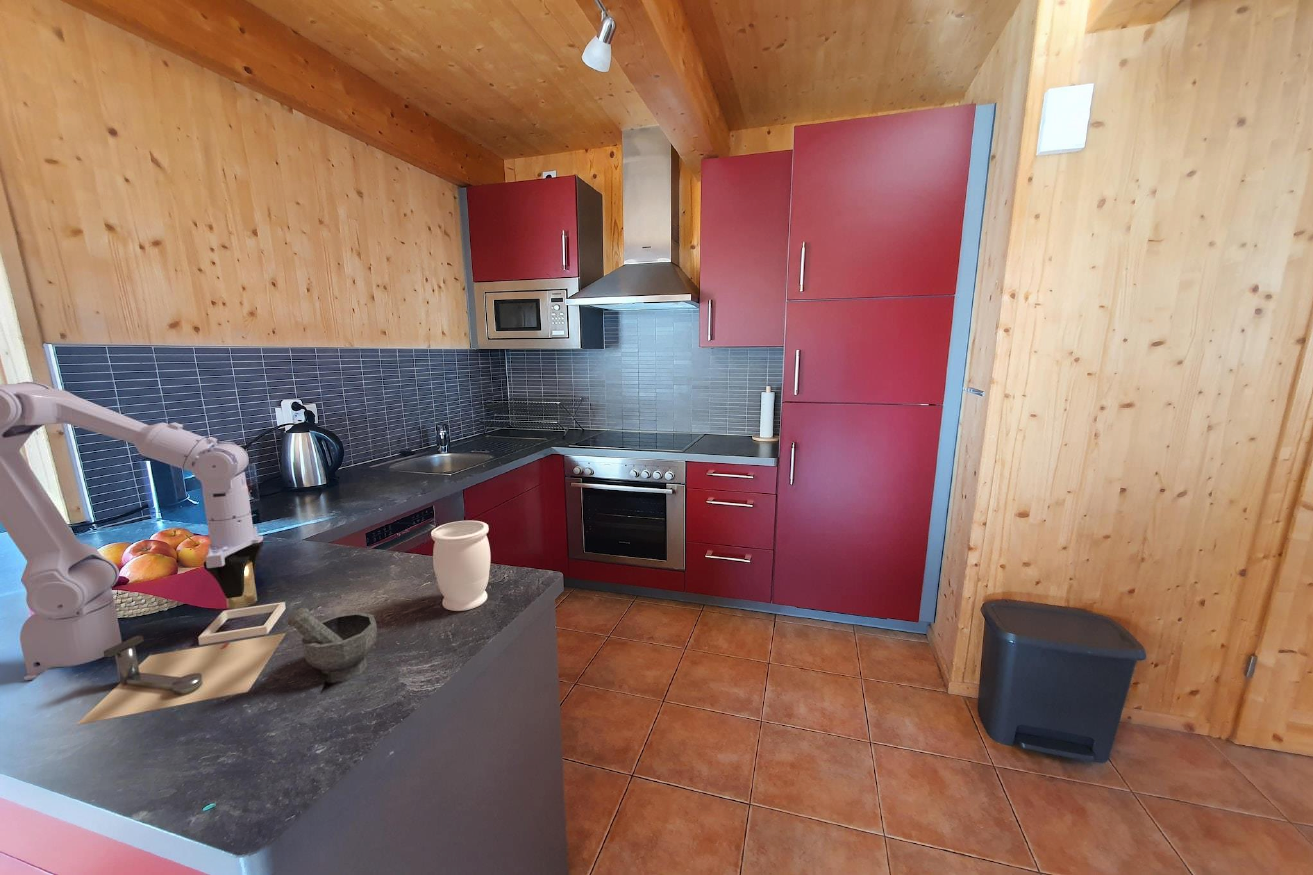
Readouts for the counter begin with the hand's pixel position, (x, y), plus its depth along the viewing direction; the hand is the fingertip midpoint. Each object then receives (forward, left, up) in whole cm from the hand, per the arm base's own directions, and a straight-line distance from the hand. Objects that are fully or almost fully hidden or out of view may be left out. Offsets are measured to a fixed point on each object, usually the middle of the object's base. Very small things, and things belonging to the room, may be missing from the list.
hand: (240, 590), depth 86 cm
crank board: (-2, -14, -8) cm, 16 cm away
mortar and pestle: (+18, -19, -8) cm, 27 cm away
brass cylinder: (0, 0, -2) cm, 2 cm away
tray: (0, 0, -8) cm, 8 cm away
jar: (+36, -2, -8) cm, 37 cm away
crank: (-5, -16, -6) cm, 17 cm away
